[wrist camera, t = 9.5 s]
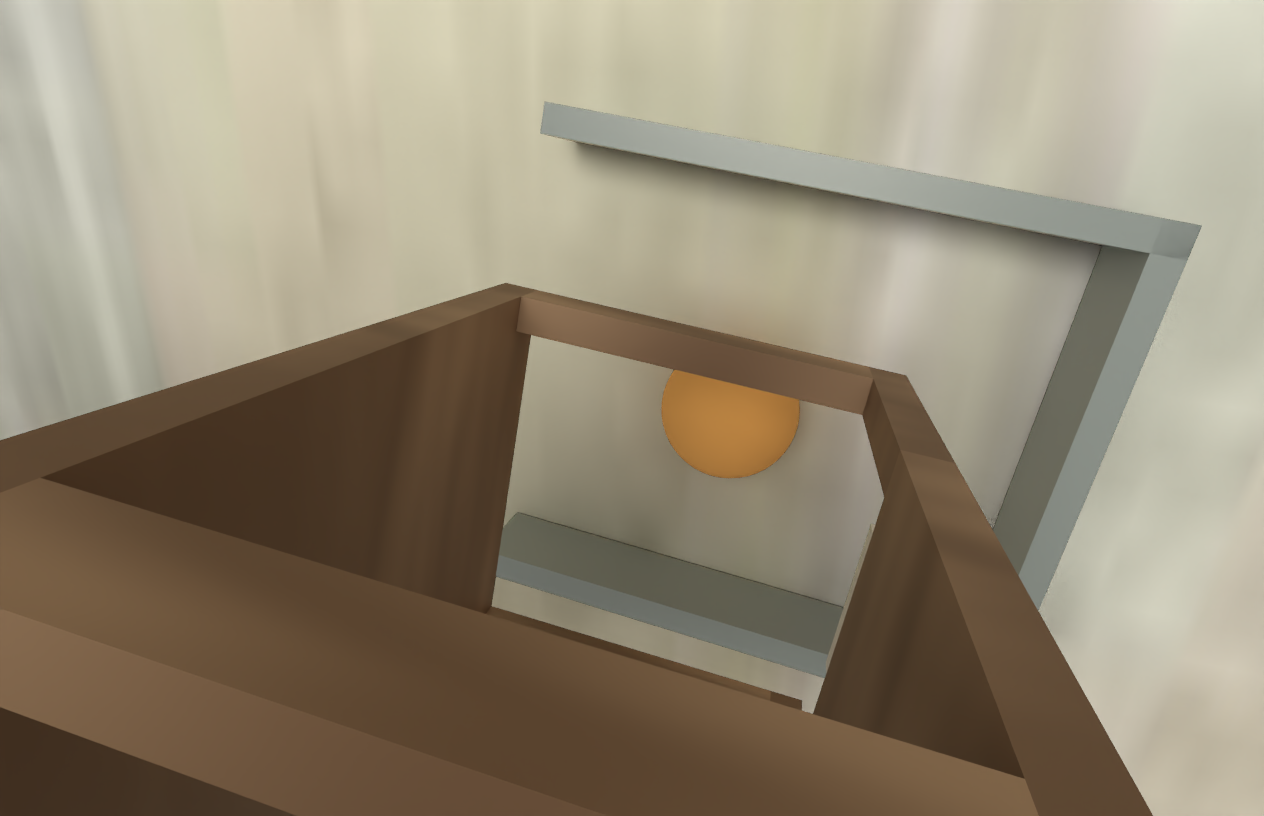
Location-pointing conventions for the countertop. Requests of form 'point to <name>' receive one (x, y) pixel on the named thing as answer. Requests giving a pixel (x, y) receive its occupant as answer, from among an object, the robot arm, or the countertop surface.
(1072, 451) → the u-shaped frame
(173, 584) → the open box frame
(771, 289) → the countertop surface
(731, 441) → the ball
